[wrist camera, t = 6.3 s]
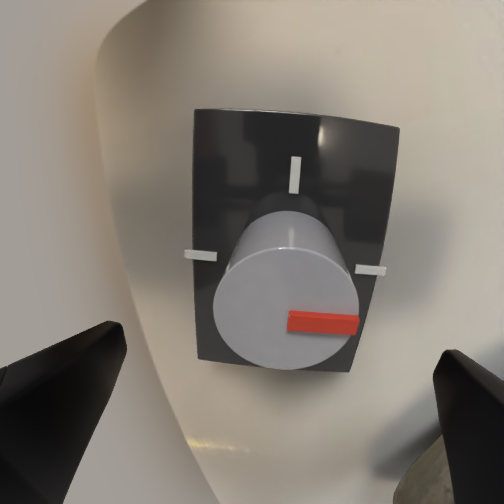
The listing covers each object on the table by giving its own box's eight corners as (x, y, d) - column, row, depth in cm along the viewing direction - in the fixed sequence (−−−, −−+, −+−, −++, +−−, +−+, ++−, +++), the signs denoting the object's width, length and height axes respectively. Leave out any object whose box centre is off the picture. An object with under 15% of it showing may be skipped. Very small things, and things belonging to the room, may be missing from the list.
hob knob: (232, 303, 14) (211, 368, 10) (235, 205, 12) (209, 244, 8) (330, 312, 13) (342, 379, 9) (347, 216, 12) (376, 259, 8)
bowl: (336, 475, 24) (338, 599, 10) (465, 306, 16) (578, 498, 2) (476, 464, 24) (499, 548, 10) (582, 336, 15) (644, 422, 2)
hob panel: (205, 113, 14) (184, 108, 11) (384, 129, 13) (408, 129, 10) (204, 326, 18) (191, 360, 15) (347, 339, 17) (355, 375, 14)
